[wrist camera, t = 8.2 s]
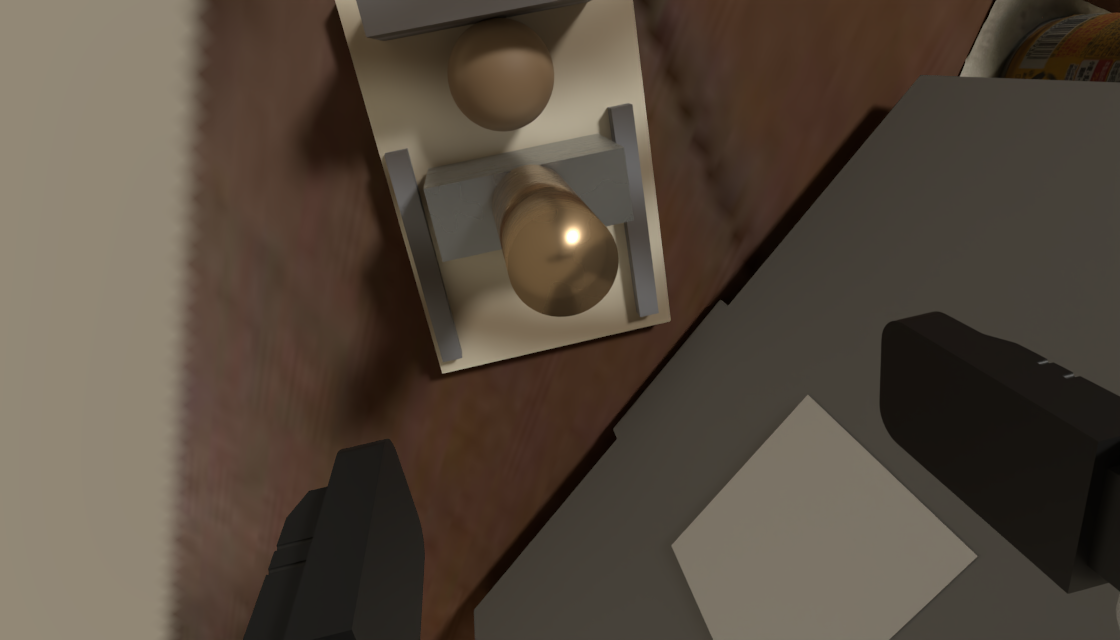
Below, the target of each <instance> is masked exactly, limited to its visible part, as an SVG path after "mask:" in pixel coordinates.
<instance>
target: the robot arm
mask: <svg viewBox="0 0 1120 640" xmlns="http://www.w3.org/2000/svg"><path fill="white" fill-rule="evenodd" d="M879 407H880V413H881V418H882V421H883V423H884V426H885V428H886V430H887V432H888V433H889V435H890V436H891V438H892V439H893V440H894V441H895V442H896V443H897V444H898V445H899V446H900V447H901V448H903V449H904V450H905V451H906V452H907V453H908V454H909V455H910V456H912V457H913V458H914V459H915V460H916V461H917V462H918V463H920V464H921V465H922V466H923V467H924V468H925V469H926V470H927V471H929V472H930V473H931V474H932V475H933V476H934V477H935V478H937V479H938V480H939V481H940V482H941V483H942V484H943V485H945V486H946V487H947V488H948V489H949V490H950V491H951V492H952V493H954V494H955V495H956V496H957V497H958V498H959V499H960V500H962V501H963V502H964V503H965V504H966V505H967V506H968V507H969V508H971V509H972V510H973V511H974V512H975V513H976V514H977V515H979V516H980V517H981V518H982V519H983V520H984V521H985V522H987V523H988V524H989V525H990V526H991V527H992V528H993V529H994V530H996V531H997V532H998V533H999V534H1000V535H1001V536H1002V537H1004V538H1005V539H1006V540H1007V541H1008V542H1009V543H1010V544H1011V545H1013V546H1014V547H1015V548H1016V549H1017V550H1018V551H1019V552H1021V553H1022V554H1023V555H1024V556H1025V557H1026V558H1027V559H1029V560H1030V561H1031V562H1032V563H1033V564H1034V565H1035V566H1036V567H1038V568H1039V569H1040V570H1041V571H1042V572H1043V573H1044V574H1046V575H1047V576H1048V577H1049V578H1050V579H1051V580H1052V581H1053V582H1055V583H1056V584H1057V585H1058V586H1059V587H1060V588H1061V589H1063V590H1064V591H1065V592H1066V593H1067V594H1070V593H1074V592H1077V591H1081V590H1085V589H1088V588H1092V587H1096V586H1099V585H1103V584H1107V583H1110V584H1111V585H1112V586H1113V587H1115V588H1116V589H1117V590H1118V591H1120V396H1118V395H1116V394H1114V393H1112V392H1110V391H1108V390H1106V389H1105V388H1103V387H1101V386H1099V385H1097V384H1095V383H1093V382H1091V381H1089V380H1087V379H1085V378H1083V377H1081V376H1078V377H1075V376H1074V374H1073V372H1072V371H1070V370H1068V369H1066V368H1064V367H1062V366H1060V365H1058V364H1056V363H1054V362H1052V363H1048V361H1047V359H1046V358H1044V357H1042V356H1041V355H1039V354H1037V353H1035V352H1033V351H1031V350H1029V349H1027V348H1025V347H1023V346H1021V345H1019V344H1017V343H1014V342H1011V341H1007V340H1004V339H1000V338H996V337H993V336H989V335H985V334H982V333H980V332H979V331H977V330H975V329H973V328H971V327H969V326H967V325H965V324H963V323H962V322H960V321H958V320H956V319H954V318H952V317H950V316H948V315H947V314H945V313H942V312H939V311H933V312H929V313H925V314H920V315H916V316H912V317H908V318H903V319H899V320H895V321H891V322H889V323H888V324H886V326H885V327H884V329H883V332H882V338H881V367H880V399H879ZM424 560H425V552H424V541H423V534H422V529H421V524H420V520H419V517H418V514H417V511H416V508H415V505H414V502H413V499H412V496H411V493H410V490H409V487H408V484H407V481H406V479H405V476H404V473H403V470H402V467H401V464H400V461H399V458H398V455H397V452H396V449H395V447H394V445H393V443H392V442H391V440H389V439H384V440H380V441H376V442H371V443H367V444H363V445H359V446H354V447H350V448H346V449H342V450H340V451H339V452H338V453H337V456H336V459H335V463H334V466H333V470H332V473H331V477H330V480H329V484H328V487H324V488H320V489H316V490H312V491H309V492H308V493H307V494H306V495H305V497H304V498H303V499H302V500H301V501H300V503H299V504H298V505H297V506H296V507H295V508H294V510H293V511H292V512H291V513H290V514H289V516H288V517H287V518H286V521H285V524H284V527H283V529H282V532H281V535H280V538H279V540H278V543H277V551H275V552H274V554H273V557H272V560H271V563H270V566H269V568H268V570H269V575H266V577H265V580H264V582H263V585H262V588H261V591H260V594H259V596H258V599H257V602H256V605H255V608H254V610H253V613H252V616H251V619H250V621H249V624H248V627H247V630H246V633H245V635H244V638H243V640H420V631H421V613H422V596H423V578H424ZM1116 617H1117V621H1118V625H1119V629H1120V593H1119V597H1118V601H1117V605H1116Z"/></svg>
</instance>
